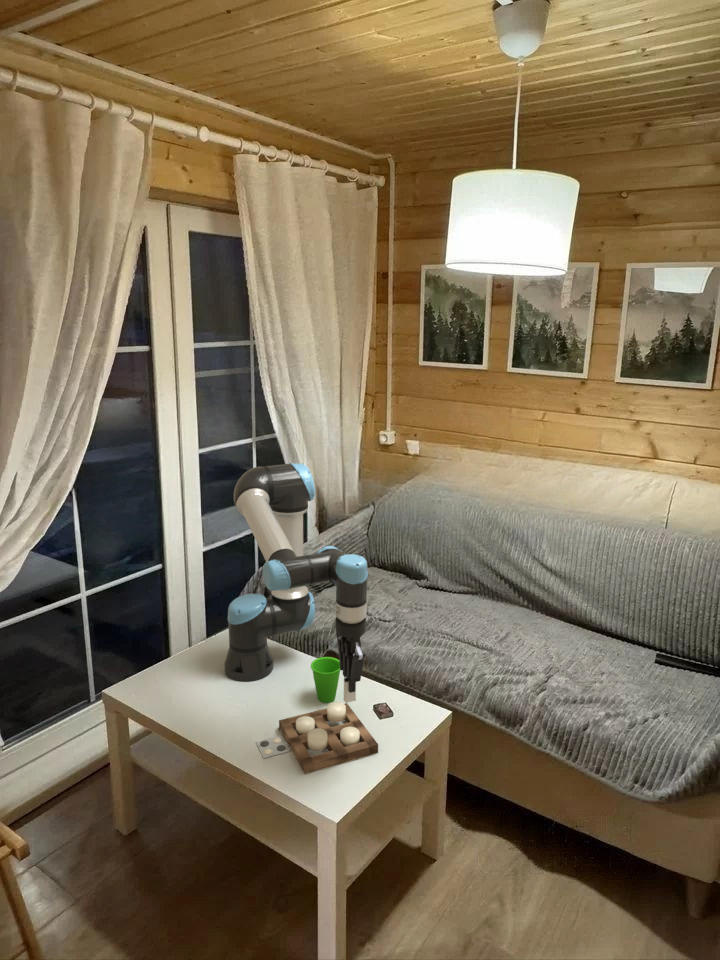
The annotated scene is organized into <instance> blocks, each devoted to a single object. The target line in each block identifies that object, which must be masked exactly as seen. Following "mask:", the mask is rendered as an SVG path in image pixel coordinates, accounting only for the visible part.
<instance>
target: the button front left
mask: <svg viewBox="0 0 720 960" xmlns="http://www.w3.org/2000/svg"><path fill="white" fill-rule="evenodd" d="M359 739H360V732H359V730H358V729H357V728H355V727H345V728H343V729H342V730H341V732H340V742H341V744H342V745H343V747H346V746H350V745H354V744H357V743H360V742H359Z"/></svg>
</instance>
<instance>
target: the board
mask: <svg viewBox="0 0 720 960" xmlns="http://www.w3.org/2000/svg"><path fill="white" fill-rule="evenodd" d="M344 704H345V706H346V718H345V720H343V721H344V723H342V724H338V725H335V726H330V725H329V723H328V722H330V721H329V720H328V718H327V707H326V708H322V709H319V710H314V711H310V712H306V713H303V714H297V715H295V716H291V717H286V718H284V719H283V718H282V719H279V720H278V729H279V731H280V732H281V734H282V737H283V739H284V741H285V742H286V744H287V746H289V747H288V748H289V750H290V751H291V752H292V755H294V758H295V759H296V761H297V762H298V765H299V766H300V768H301V770H302V771H303V774H304V775H307V774H309V773H313V772H317V771H320V770H325V769H327V768H331V767H333V766H338V765H341V764H344V763H347V762H352V761H355V760H358V759H361V758H365V757H369V756H371V755H375V754H378V753H379V743H378V742H377V741H376V740H375V738H374V737H373V735H372V733H370V731H369V730H368V729H367V728H366V727H365V725H364V723H362V720H360V719H359V717H358V716H357V714H356V713H355V712H354V711H353V709H352V708H351V706H350V705H349V704H348V703H344ZM303 716H308V717H311V718H313V719H314V721H315V729H316V728H319V729H323V730H325V731H326V732H327V747H326V748H325V749H326V750H327V751H326V752H322V753H319V754H315V755H312V756H311V754H310V753H309V751H308V750H310V749H309V748H308V734H304V735H300V736H298V734H297V733H296V720H297V719H298V718H300V717H303ZM345 727H355V728H357V729H358V730H359V732H360V739H359V743H357V744H354V745H350V746H346V747H343V745H342V744H341V742H340V732H341V730H342V729H343V728H345Z"/></svg>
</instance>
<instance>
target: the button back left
mask: <svg viewBox="0 0 720 960" xmlns="http://www.w3.org/2000/svg"><path fill="white" fill-rule="evenodd" d="M326 708H327V718H328V720H329V721H328V722H331V723H341V722H343V721H344V720H345V718H346V706H345V703H343V702H340V701H333V702H331V703H328V704H327V707H326Z"/></svg>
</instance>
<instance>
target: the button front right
mask: <svg viewBox="0 0 720 960" xmlns="http://www.w3.org/2000/svg"><path fill="white" fill-rule="evenodd" d="M326 747H327V732H326V731H325V730H323V729H319V728H316V729H312V730H310V731H309V732H308V748H309V749H308V750H311V751H313V752H320V751H324V750H325V749H326Z"/></svg>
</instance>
